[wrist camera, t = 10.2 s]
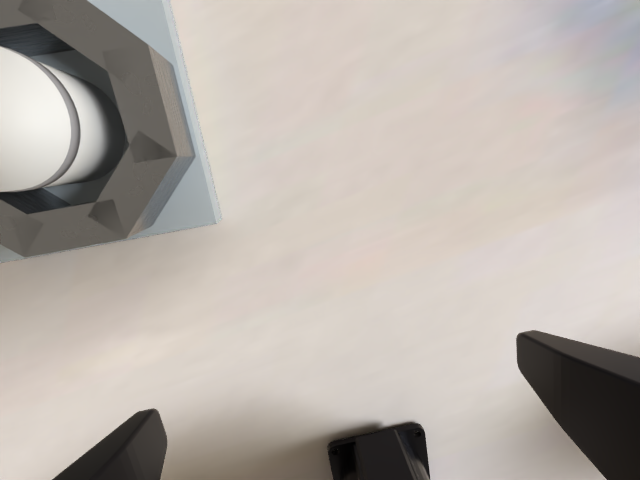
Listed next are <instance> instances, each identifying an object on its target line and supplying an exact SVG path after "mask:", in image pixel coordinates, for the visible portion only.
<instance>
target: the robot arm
mask: <svg viewBox="0 0 640 480" xmlns="http://www.w3.org/2000/svg"><path fill="white" fill-rule="evenodd" d="M516 344H517V364H518V367H519V369H520V371H521V373H522V374H523V376H524V377H525V379H526V380H527V381H528V383H529V384H530V385H531V387H532V388H533V390H534V391H535V392H536V394H537V395H538V396H539V398H540V399H541V401H542V402H543V403H544V405H545V406H546V407H547V409H548V410H549V412H550V413H551V414H552V416H553V417H554V418H555V420H556V421H557V422H558V424H559V425H560V426H561V427H562V429H563V430H564V431H565V432H566V433H567V434H568V436H569V437H570V438H571V439H572V440H573V441H574V443H575V444H576V445H577V446H578V447H579V448H580V449H581V451H582V452H583V453H584V454H585V455H586V456H587V457H588V459H589V460H590V461H591V462H592V463H593V464H594V465H595V467H596V468H597V469H598V470H599V471H600V472H601V473H602V475H603V476H604V477H605V478H606V479H607V480H640V358H639V357H636V356H632V355H628V354H624V353H620V352H616V351H613V350H609V349H605V348H601V347H597V346H593V345H590V344H586V343H582V342H578V341H574V340H570V339H567V338H563V337H559V336H555V335H551V334H548V333H544V332H540V331H536V330H532V331H527V332H522V333H519V334H518V335H517V338H516ZM416 431H418V432H417V433H415V432H416ZM334 449H338V450H334ZM166 450H167V436H166V432H165V429H164V426H163V423H162V420H161V417H160V414H159V412H158V411H157V410H156V409H148V410H143V411H139V412H137V413H135V414H134V415H133V416H132V417H130V418H129V419H128V420H127V421H125V422H124V423H123V424H122V425H120V426H119V427H118V428H117V429H115V430H114V431H113V432H112V433H110V434H109V435H108V436H106V437H105V438H104V439H103V440H101V441H100V442H99V443H98V444H96V445H95V446H94V447H93V448H91V449H90V450H89V451H88V452H86V453H85V454H84V455H83V456H81V457H80V458H79V459H78V460H76V461H75V462H74V463H72V464H71V465H70V466H69V467H67V468H66V469H65V470H64V471H62V472H61V473H60V474H59V475H57V476H56V477H55V478H54V479H52V480H160V477H161V473H162V468H163V463H164V459H165V454H166ZM328 455H329V460H330V465H331V470H332V475H333V480H430V473H429V464H428V456H427V447H426V438H425V432H424V429H423V427H422V426H421V425H420V424H418V423H415V424H410V425H406V426H401V427H396V428H392V429H387V430H382V431H378V432H373V433H369V434H364V435H359V436H355V437H350V438H346V439H341V440H336V441H333V442H331V443H330V444H329V445H328Z"/></svg>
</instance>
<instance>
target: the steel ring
mask: <svg viewBox="0 0 640 480" xmlns="http://www.w3.org/2000/svg"><path fill="white" fill-rule="evenodd" d="M0 46H2V47H5V48H9V49H11V50H14V51H16V52H19V53H21V54H24V55H26V56H28V57H32V56H38V55H45V54H51V53H58V52H64V51H71V50H77V51H79V52H80V53H82V54H83V55H84V56H86V57H87V58H89V59H90V60H92V61H93V62H95V63H96V64H98V65H99V66H100V67H102V68H103V69H105V70H106V71H108V74H109V77H110V81H111V84H112V88H113V91H114V94H115V98H116V101H117V105H118V108H119V111H120V115H121V118H122V122H123V125H124V129H125V132H126V135H127V139H128V142H129V147H128V149H127V150H126V152H125V154H124V155H123V157H122V159H121V161H120V162H119V164H118V166H117V167H116V169H115V171H114V172H113V174H112V176H111V177H110V179H109V181H108V182H107V184H106V186H105V187H104V189H103V191H102V192H101V194H100V196H99V198H98V199H97V201H91V202H85V203H80V204H74V205H71V204H69V203H68V202H66V201H64V200H62V199H61V198H59V197H57V196H56V195H54V194H52V193H51V192H49V191H47V190H45V189H44V188H38V189H34V190H27V191H18V192H0V244H1V245H2V246H4V247H6V248H8V249H10V250H12V251H13V252H15V253H17V254H19V255H21V256H23V257H31V256H36V255H42V254H47V253H52V252H58V251H63V250H69V249H74V248H80V247H85V246H91V245H96V244H101V243H107V242H112V241H118V240H123V239H127V238H129V237H131V236H133V235H135V234H137V233H139V232H141V231H143V230H145V229H147V228H149V227H151V226H153V224H154V223H155V221H156V219H157V218H158V216H159V215H160V213H161V212H162V210H163V208H164V207H165V205H166V204H167V202H168V200H169V199H170V197H171V196H172V194H173V192H174V191H175V189H176V188H177V186H178V184H179V183H180V181H181V180H182V178H183V176H184V175H185V173H186V172H187V170H188V169H189V167H190V165H191V164H192V162H193V161H194V159H195V157H196V154H195V150H194V146H193V142H192V138H191V134H190V130H189V126H188V122H187V118H186V114H185V110H184V106H183V102H182V98H181V94H180V90H179V87H178V83H177V79H176V75H175V71H174V67H173V65H172V64H171V63H170V62H169V61H168V60H166V59H165V58H164V57H163V56H162V55H160V54H159V53H158V52H157V51H156V50H154V49H153V48H152V47H151V46H149V45H148V44H147V43H146V42H144V41H143V40H141V39H140V38H139V37H137V36H136V35H134V34H133V33H132V32H130V31H129V30H128V29H126V28H125V27H123V26H122V25H121V24H119V23H118V22H116V21H115V20H114V19H112V18H111V17H110V16H108V15H107V14H105V13H104V12H103V11H101V10H100V9H98V8H97V7H96V6H94V5H93V4H91V3H90V2H89V1H87V0H0Z"/></svg>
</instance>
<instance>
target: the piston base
mask: <svg viewBox="0 0 640 480" xmlns="http://www.w3.org/2000/svg"><path fill="white" fill-rule="evenodd" d="M87 1H89V2H90V3H91V4H93V5H94V6H96V7H97V8H98V9H100V10H101V11H103V12H104V13H105V14H107V15H108V16H110V17H111V18H112V19H114V20H115V21H116V22H118V23H119V24H121V25H122V26H123V27H125V28H126V29H128V30H129V31H130V32H132V33H133V34H134V35H136V36H137V37H139V38H140V39H141V40H143V41H144V42H146V43H147V44H148V45H149V46H151V47H152V48H153V49H154V50H156V51H157V52H158V53H159V54H160V55H162V56H163V57H164V58H165V59H166V60H168V61H169V62H170V63H171V64H172V65H173V67H174V71H175V75H176V79H177V83H178V87H179V90H180V94H181V98H182V102H183V106H184V110H185V114H186V118H187V122H188V126H189V130H190V134H191V138H192V142H193V146H194V150H195V154H196V157H195V159H194V161H193V162H192V164H191V165H190V167H189V169H188V170H187V172H186V173H185V175H184V176H183V178H182V180H181V181H180V183H179V184H178V186H177V188H176V189H175V191H174V192H173V194H172V196H171V197H170V199H169V200H168V202H167V204H166V205H165V207H164V208H163V210H162V212H161V213H160V215H159V216H158V218H157V219H156V221H155V223H154V224H153V226H151V227H149V228H147V229H145V230H143V231H141V232H139V233H137V234H135V235H133V236H131V237H129V238H127V239H123V240H118V241H112V242H107V243H101V244H96V245H91V246H85V247H80V248H74V249H69V250H63V251H58V252H52V253H47V254H42V255H48V254H53V253H59V252H64V251H70V250H75V249H81V248H86V247H92V246H97V245H103V244H108V243H114V242H119V241H125V240H130V239H136V238H141V237H147V236H152V235H158V234H163V233H169V232H174V231H180V230H185V229H191V228H196V227H202V226H207V225H213V224H217V223H218V222H219V221H220V220H221V219H222V217H221V213H220V208H219V204H218V200H217V196H216V192H215V188H214V184H213V179H212V175H211V171H210V167H209V163H208V159H207V154H206V150H205V146H204V142H203V138H202V134H201V129H200V125H199V121H198V117H197V113H196V109H195V105H194V100H193V96H192V92H191V88H190V84H189V80H188V75H187V71H186V67H185V63H184V59H183V55H182V51H181V46H180V42H179V38H178V34H177V30H176V26H175V21H174V17H173V13H172V9H171V5H170V1H169V0H87ZM128 147H129V142H128V139H127V135H126V132H125V129H124V125H123V122H122V118H121V115H120V111H119V108H118V105H117V101H116V98H115V94H114V91H113V88H112V84H111V81H110V77H109V74H108V71H106V70H105V69H103V68H102V67H100V66H99V65H98V64H96V63H95V62H93V61H92V60H90V59H89V58H87V57H86V56H84V55H83V54H82V53H80V52H79V51H77V50H71V51H64V52H58V53H51V54H45V55H38V56H32V57H28V56H26V55H24V54H21V53H19V52H16V51H14V50H11V49H9V48H5V47H2V46H0V192H18V191H27V190H34V189H38V188H44V189H45V190H47V191H49V192H51V193H52V194H54V195H56V196H57V197H59V198H61V199H62V200H64V201H66V202H68V203H69V204H71V205H74V204H80V203H85V202H91V201H97V199H98V198H99V196H100V194H101V192H102V191H103V189H104V187H105V186H106V184H107V182H108V181H109V179H110V177H111V176H112V174H113V172H114V171H115V169H116V167H117V166H118V164H119V162H120V161H121V159H122V157H123V155H124V154H125V152H126V150H127V149H128ZM42 255H36V256H31V257H37V256H42ZM31 257H23V256H21V255H19V254H17V253H15V252H13V251H12V250H10V249H8V248H6V247H4V246H2V245H1V244H0V263H4V262H9V261H15V260H20V259H26V258H31Z"/></svg>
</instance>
